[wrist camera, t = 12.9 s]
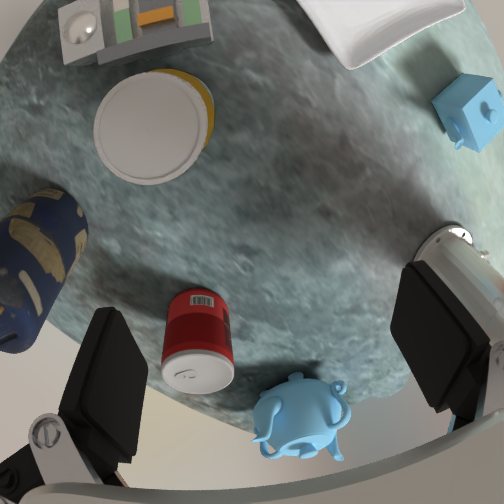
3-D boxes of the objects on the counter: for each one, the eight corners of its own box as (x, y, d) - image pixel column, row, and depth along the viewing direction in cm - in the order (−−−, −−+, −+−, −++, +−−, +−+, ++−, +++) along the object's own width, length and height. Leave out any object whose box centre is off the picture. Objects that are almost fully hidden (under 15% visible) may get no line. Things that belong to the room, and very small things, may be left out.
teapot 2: (430, 153, 32) (469, 173, 26) (408, 115, 29) (450, 127, 23) (480, 105, 29) (520, 117, 22) (463, 67, 26) (505, 73, 19)
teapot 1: (325, 407, 59) (343, 462, 47) (235, 414, 55) (242, 476, 43) (350, 360, 50) (378, 425, 38) (242, 367, 47) (252, 444, 35)
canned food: (156, 302, 38) (145, 369, 29) (207, 276, 37) (208, 343, 28) (190, 337, 42) (188, 401, 33) (238, 315, 41) (247, 381, 32)
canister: (17, 195, 28) (-75, 283, 13) (77, 174, 28) (-19, 265, 13) (44, 262, 33) (-18, 366, 18) (103, 249, 33) (49, 369, 18)
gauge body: (201, -41, 18) (199, -62, 14) (214, 48, 24) (214, 40, 20) (77, -6, 18) (55, -17, 13) (87, 81, 24) (65, 82, 19)
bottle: (155, 150, 29) (111, 208, 16) (135, 87, 25) (70, 95, 12) (221, 130, 29) (230, 172, 16) (204, 65, 25) (195, 45, 12)
